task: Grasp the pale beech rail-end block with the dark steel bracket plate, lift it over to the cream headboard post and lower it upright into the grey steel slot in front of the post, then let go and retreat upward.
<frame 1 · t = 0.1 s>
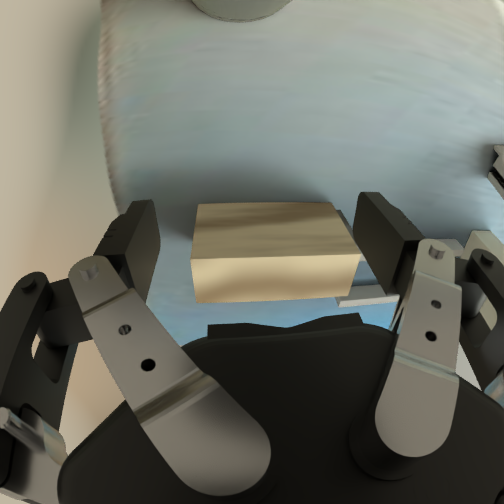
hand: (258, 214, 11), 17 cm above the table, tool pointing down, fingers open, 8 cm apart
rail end: (265, 222, 32), on the table
headboard post: (399, 265, 38), on the table
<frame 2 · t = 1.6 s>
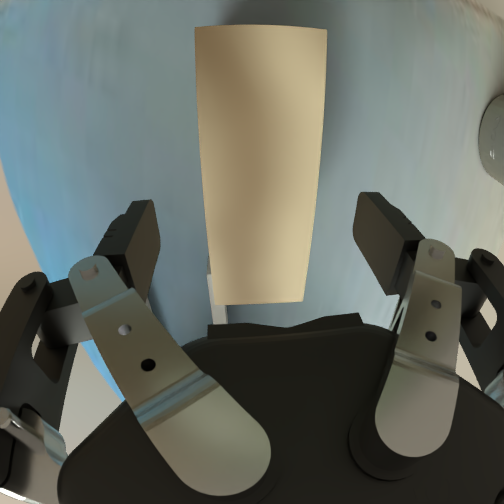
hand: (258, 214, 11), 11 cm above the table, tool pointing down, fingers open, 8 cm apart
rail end: (250, 137, 20), on the table
headboard post: (186, 324, 31), on the table
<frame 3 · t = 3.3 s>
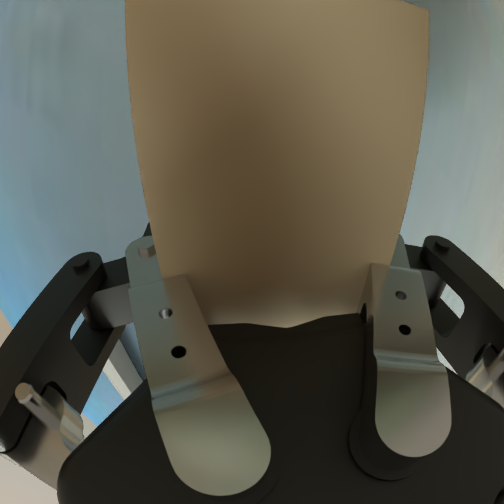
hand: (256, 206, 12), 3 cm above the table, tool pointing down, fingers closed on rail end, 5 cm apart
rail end: (251, 177, 14), on the table, touching gripper
headboard post: (178, 385, 25), on the table
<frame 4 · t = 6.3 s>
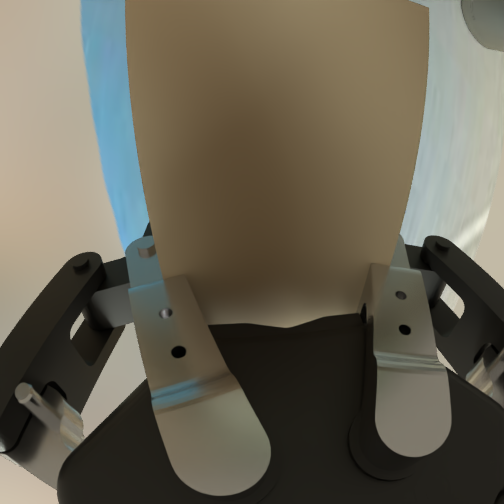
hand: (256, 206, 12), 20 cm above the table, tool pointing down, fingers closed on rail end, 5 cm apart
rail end: (251, 176, 14), point 17 cm above the table, touching gripper
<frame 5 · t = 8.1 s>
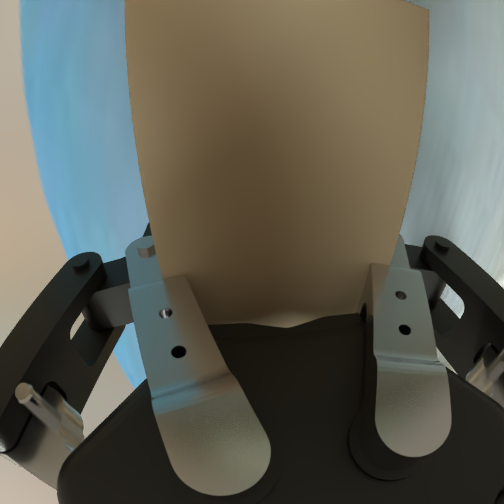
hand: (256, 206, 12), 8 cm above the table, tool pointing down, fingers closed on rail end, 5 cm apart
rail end: (251, 177, 14), point 5 cm above the table, touching gripper
when the fingers open (4 cm above the table, at t = 9.5 s): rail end drops 1 cm, resting in headboard post.
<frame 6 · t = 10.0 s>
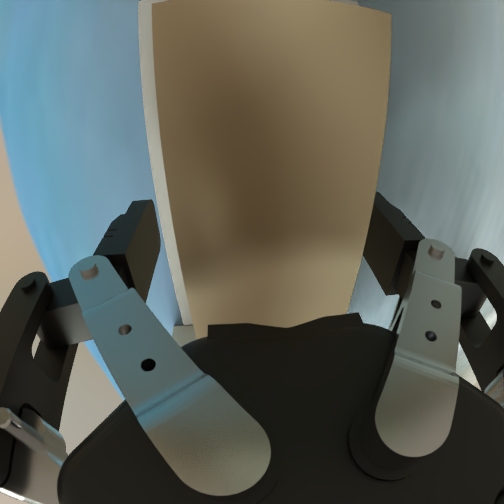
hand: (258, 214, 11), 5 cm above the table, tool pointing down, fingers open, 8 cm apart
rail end: (250, 165, 16), resting in headboard post
headboard post: (249, 169, 16), on the table
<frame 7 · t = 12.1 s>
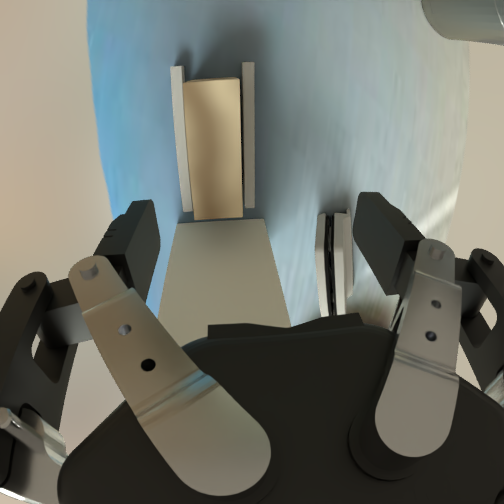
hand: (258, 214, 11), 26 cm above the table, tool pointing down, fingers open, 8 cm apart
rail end: (216, 133, 34), resting in headboard post
headboard post: (215, 135, 34), on the table
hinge: (328, 256, 47), on the table
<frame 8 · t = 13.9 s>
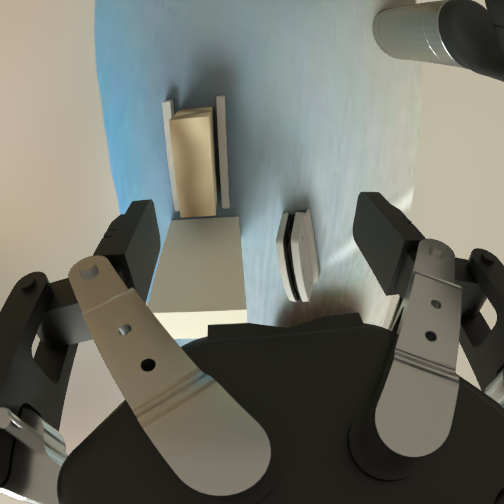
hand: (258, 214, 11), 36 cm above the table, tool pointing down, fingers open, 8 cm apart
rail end: (199, 150, 45), resting in headboard post
headboard post: (198, 152, 45), on the table
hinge: (295, 247, 58), on the table
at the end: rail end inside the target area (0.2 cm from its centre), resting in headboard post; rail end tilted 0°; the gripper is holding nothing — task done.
